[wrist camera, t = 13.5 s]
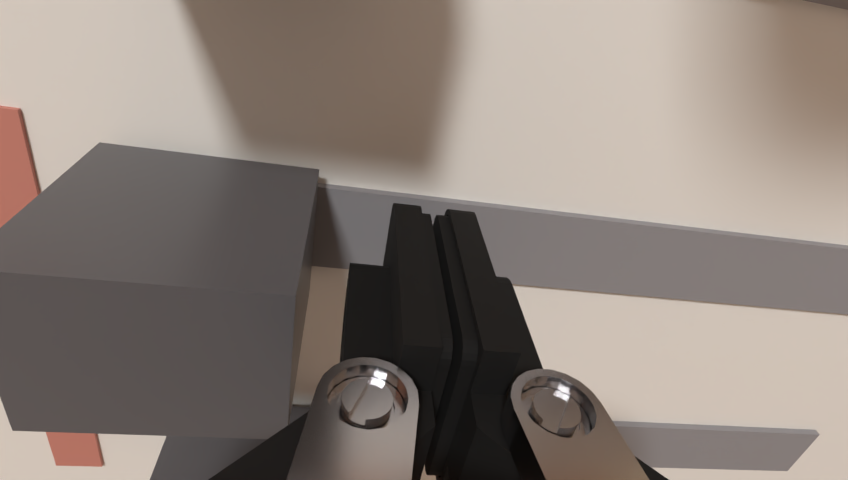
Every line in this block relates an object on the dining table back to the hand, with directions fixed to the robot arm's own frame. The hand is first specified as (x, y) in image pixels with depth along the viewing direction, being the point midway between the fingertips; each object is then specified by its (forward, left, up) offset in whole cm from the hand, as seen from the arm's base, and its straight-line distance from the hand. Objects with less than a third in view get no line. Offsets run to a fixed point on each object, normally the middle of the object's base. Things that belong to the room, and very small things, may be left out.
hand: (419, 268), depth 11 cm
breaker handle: (+4, 0, -1) cm, 4 cm away
